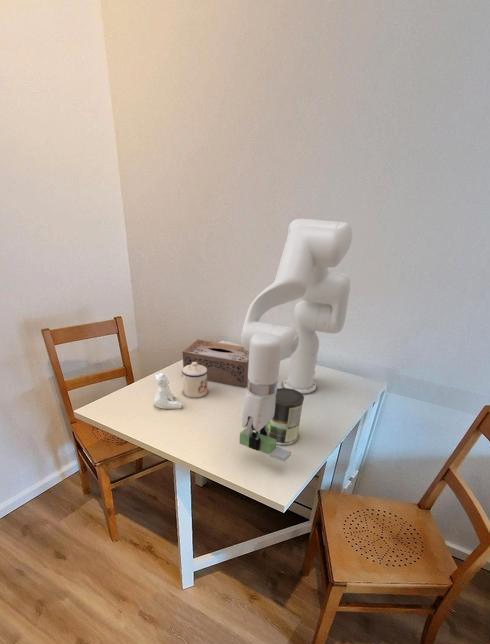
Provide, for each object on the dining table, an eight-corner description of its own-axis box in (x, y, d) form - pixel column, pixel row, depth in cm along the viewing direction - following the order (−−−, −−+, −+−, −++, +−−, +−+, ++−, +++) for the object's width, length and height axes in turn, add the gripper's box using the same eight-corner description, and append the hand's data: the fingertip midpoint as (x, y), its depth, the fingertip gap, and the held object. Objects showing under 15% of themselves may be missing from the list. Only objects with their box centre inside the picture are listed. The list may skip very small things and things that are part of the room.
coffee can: (267, 445, 117) (272, 404, 108) (262, 427, 125) (266, 388, 116) (301, 444, 117) (307, 404, 109) (294, 426, 126) (299, 387, 117)
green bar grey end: (290, 454, 104) (292, 443, 102) (284, 461, 102) (285, 450, 100) (245, 438, 110) (246, 427, 108) (238, 444, 108) (238, 433, 106)
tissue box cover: (183, 375, 153) (182, 351, 147) (198, 362, 164) (197, 339, 158) (244, 387, 147) (246, 362, 141) (255, 372, 158) (257, 348, 152)
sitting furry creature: (183, 408, 133) (181, 376, 126) (159, 414, 130) (156, 381, 122) (173, 396, 139) (170, 365, 132) (150, 402, 136) (146, 370, 129)
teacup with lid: (202, 400, 138) (201, 369, 131) (179, 395, 140) (177, 365, 133) (213, 385, 147) (213, 356, 140) (191, 382, 149) (190, 353, 142)
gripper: (264, 370, 103) (259, 428, 114) (232, 393, 92) (230, 455, 103) (290, 377, 100) (282, 436, 111) (259, 402, 89) (254, 465, 100)
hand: (257, 445), depth 107 cm, fingers closed on green bar grey end, 2 cm apart
